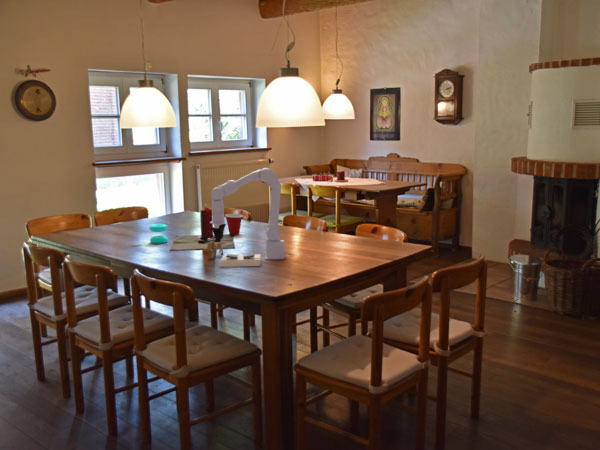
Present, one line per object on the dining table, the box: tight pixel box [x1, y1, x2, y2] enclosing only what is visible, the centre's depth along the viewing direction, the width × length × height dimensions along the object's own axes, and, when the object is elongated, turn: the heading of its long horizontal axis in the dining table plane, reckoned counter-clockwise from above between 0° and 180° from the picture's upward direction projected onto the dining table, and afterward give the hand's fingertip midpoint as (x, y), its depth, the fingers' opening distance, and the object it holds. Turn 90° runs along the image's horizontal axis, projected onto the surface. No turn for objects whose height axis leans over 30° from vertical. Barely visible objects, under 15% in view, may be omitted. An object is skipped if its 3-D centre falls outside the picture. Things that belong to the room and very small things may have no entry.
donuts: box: [149, 223, 169, 245], centre depth 321 cm, size 10×10×10 cm
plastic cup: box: [224, 213, 244, 236], centre depth 341 cm, size 11×11×12 cm
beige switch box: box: [220, 253, 262, 268], centre depth 269 cm, size 18×11×3 cm, turn 91°
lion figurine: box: [207, 240, 224, 259], centre depth 283 cm, size 15×5×9 cm, turn 171°
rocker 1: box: [226, 253, 239, 259], centre depth 266 cm, size 5×4×2 cm
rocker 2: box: [243, 252, 255, 259], centre depth 266 cm, size 5×4×2 cm
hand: (219, 240), depth 275 cm, fingers open, 7 cm apart
